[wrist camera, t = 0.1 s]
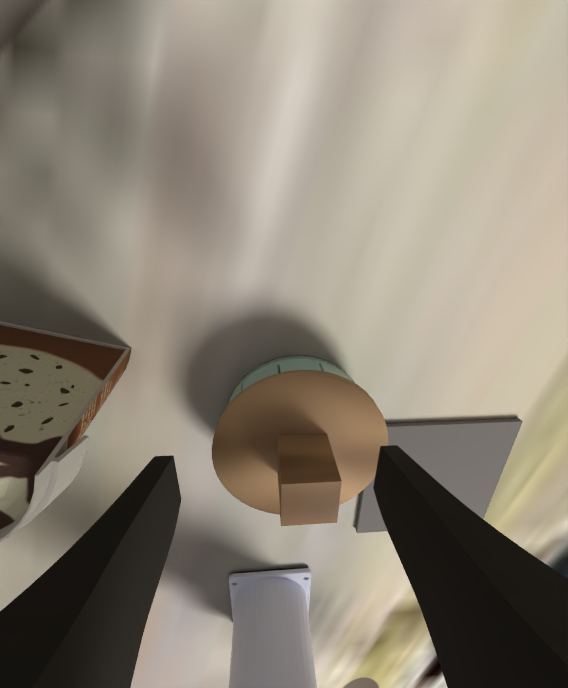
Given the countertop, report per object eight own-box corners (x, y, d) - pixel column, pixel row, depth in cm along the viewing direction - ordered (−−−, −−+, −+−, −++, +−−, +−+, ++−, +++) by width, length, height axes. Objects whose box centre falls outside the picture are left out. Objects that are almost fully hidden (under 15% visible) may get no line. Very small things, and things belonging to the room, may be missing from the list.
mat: (477, 520, 28) (480, 524, 28) (355, 528, 27) (356, 532, 27) (518, 418, 23) (522, 421, 23) (372, 424, 22) (374, 427, 22)
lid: (371, 500, 21) (397, 563, 17) (220, 509, 21) (210, 577, 17) (396, 367, 17) (436, 411, 13) (205, 372, 16) (188, 420, 12)
